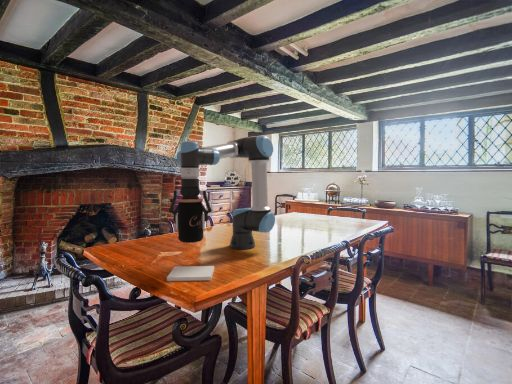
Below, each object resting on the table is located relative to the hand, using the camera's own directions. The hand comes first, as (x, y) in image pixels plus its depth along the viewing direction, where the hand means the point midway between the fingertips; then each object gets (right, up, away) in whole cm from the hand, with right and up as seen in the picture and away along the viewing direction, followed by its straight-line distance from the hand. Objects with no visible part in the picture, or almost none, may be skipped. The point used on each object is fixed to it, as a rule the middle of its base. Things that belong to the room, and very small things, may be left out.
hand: (190, 229), depth 126 cm
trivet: (0, -20, +1) cm, 20 cm away
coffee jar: (0, -5, 0) cm, 5 cm away
